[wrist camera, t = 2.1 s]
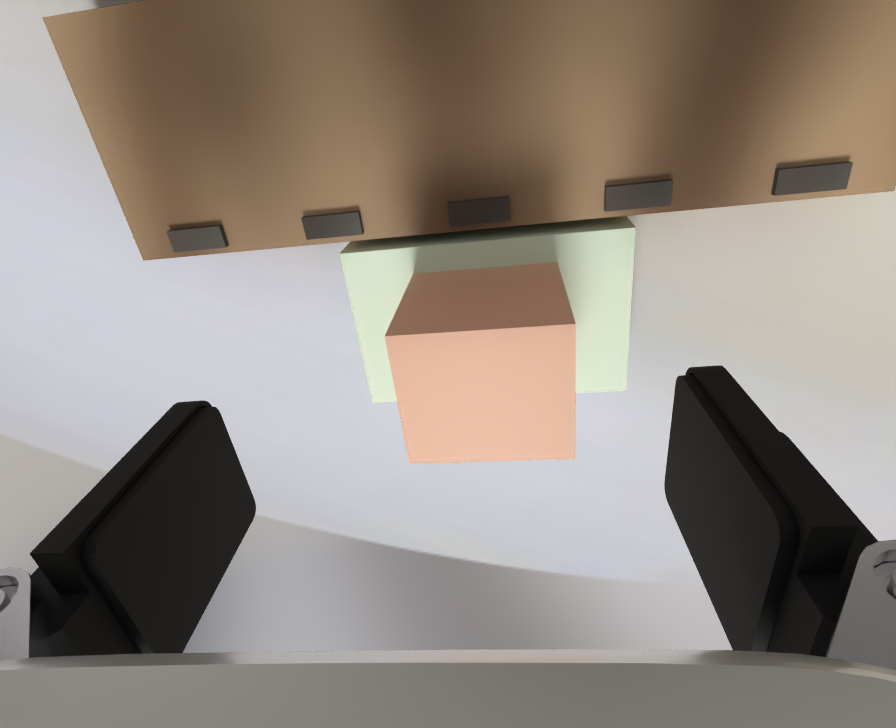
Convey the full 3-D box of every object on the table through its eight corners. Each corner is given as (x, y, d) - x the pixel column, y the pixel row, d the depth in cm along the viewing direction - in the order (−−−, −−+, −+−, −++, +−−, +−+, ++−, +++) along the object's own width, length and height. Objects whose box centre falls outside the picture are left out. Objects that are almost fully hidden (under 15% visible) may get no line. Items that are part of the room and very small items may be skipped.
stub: (620, 210, 15) (683, 281, 10) (613, 359, 17) (661, 480, 12) (357, 234, 16) (286, 310, 11) (384, 372, 18) (338, 488, 13)
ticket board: (916, -110, 11) (1001, -149, 9) (845, 176, 14) (899, 192, 12) (99, 24, 14) (35, 17, 12) (180, 241, 17) (139, 262, 15)
